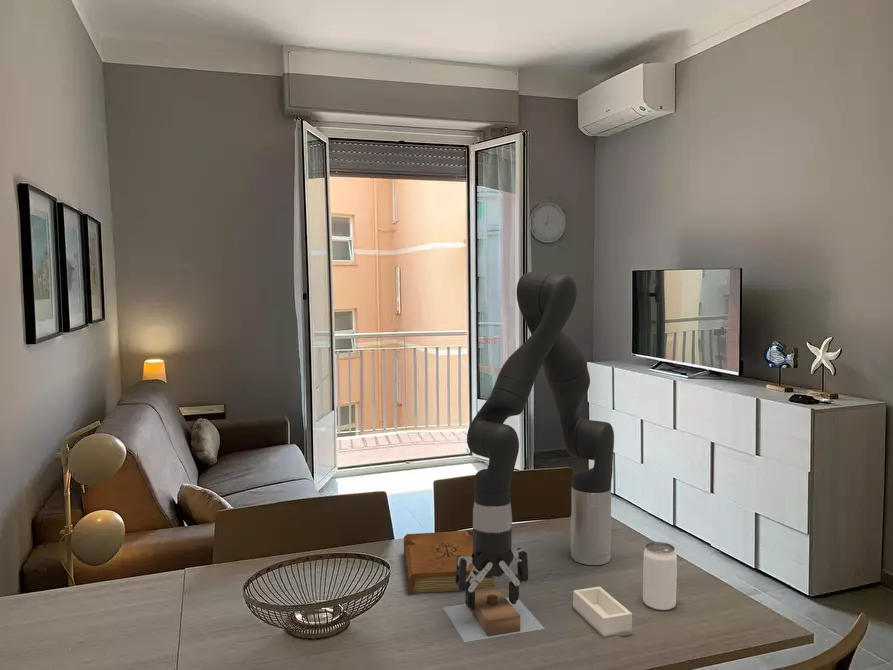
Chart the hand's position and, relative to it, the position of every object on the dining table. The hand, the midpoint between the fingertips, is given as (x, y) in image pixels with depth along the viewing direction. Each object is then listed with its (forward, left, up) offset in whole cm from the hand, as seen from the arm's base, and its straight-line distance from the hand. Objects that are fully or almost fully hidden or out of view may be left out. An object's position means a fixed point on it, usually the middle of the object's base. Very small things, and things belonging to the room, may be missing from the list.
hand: (492, 605), depth 132 cm
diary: (-24, -2, -4) cm, 25 cm away
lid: (0, 0, -3) cm, 3 cm away
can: (+4, +35, -3) cm, 36 cm away
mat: (0, 0, -3) cm, 3 cm away
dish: (+7, +20, -3) cm, 21 cm away
